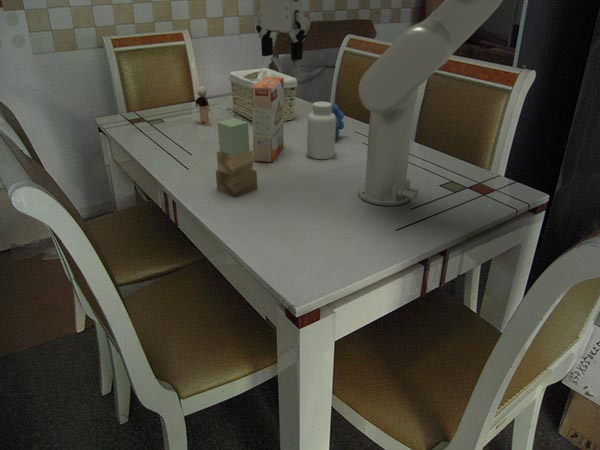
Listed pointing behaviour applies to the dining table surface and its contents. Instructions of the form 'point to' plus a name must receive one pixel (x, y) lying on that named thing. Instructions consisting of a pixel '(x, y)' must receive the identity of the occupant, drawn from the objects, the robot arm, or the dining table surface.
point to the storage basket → (244, 91)
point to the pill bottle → (321, 131)
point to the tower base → (236, 183)
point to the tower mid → (234, 163)
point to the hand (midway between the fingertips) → (281, 57)
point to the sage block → (233, 136)
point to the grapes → (338, 118)
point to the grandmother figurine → (203, 105)
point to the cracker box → (268, 118)
